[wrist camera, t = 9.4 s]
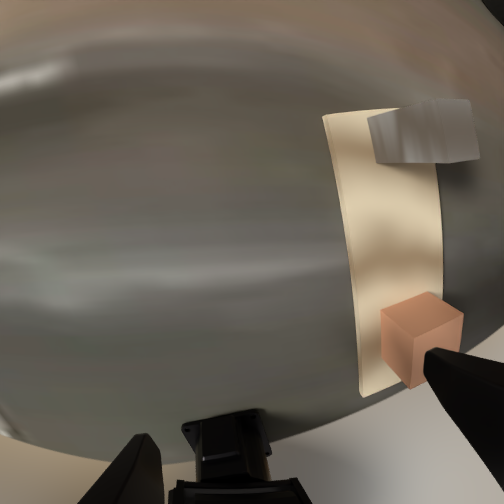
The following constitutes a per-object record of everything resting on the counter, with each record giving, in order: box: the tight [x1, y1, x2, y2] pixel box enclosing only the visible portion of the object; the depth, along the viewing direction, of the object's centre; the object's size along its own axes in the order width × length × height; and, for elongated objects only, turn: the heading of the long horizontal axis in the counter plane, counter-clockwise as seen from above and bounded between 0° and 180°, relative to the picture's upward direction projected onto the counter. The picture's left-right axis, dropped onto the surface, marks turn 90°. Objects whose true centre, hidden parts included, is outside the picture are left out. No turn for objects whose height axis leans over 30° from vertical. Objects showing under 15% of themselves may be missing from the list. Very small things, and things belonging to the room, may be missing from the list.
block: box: [380, 291, 464, 389], centre depth 19 cm, size 4×4×4 cm
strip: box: [322, 99, 480, 398], centre depth 17 cm, size 22×8×8 cm, turn 13°
